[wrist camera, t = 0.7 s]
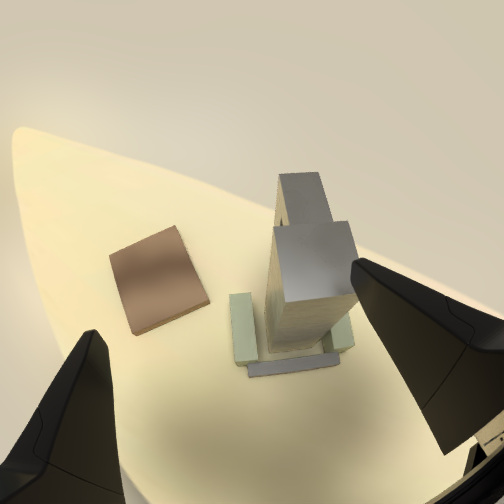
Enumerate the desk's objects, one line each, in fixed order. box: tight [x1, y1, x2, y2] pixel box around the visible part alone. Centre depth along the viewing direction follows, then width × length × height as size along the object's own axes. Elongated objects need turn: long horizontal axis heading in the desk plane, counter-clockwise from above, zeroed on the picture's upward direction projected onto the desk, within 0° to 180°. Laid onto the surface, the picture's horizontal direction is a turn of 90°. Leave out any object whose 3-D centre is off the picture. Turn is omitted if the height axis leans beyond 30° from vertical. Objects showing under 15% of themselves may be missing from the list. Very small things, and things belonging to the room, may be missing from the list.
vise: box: [229, 292, 355, 378], centre depth 22 cm, size 6×9×3 cm
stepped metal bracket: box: [265, 172, 359, 353], centre depth 19 cm, size 6×3×13 cm, turn 6°
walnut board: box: [109, 225, 210, 336], centre depth 25 cm, size 8×7×1 cm
